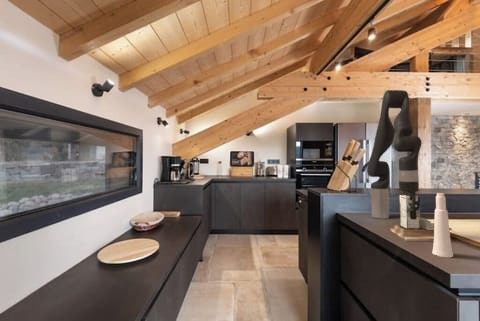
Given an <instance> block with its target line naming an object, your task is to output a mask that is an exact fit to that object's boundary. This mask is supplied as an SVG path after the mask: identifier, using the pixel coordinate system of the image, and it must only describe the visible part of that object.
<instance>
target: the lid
mask: <svg viewBox="0 0 480 321" xmlns="http://www.w3.org/2000/svg"><path fill="white" fill-rule="evenodd" d="M431 221H432V220H428V219H426V218H425V217H424V218H423V217H422V216H420V227H422V228H424V229H426V230H434V222H431ZM449 231H453V228H451V227H450V226H449Z"/></svg>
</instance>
